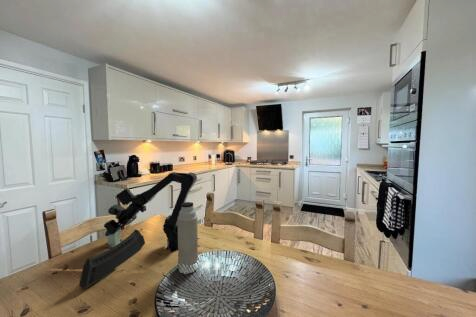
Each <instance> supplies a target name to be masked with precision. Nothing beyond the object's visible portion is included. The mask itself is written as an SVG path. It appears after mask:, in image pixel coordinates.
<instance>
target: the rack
mask: <svg viewBox="0 0 476 317" xmlns="http://www.w3.org/2000/svg"><path fill="white" fill-rule="evenodd" d="M123 240H124V239H123V238H120V242H121V241H123ZM114 246H115V245H108V241H107V242H105V243H104V244H103V245H101V249H111V248H112V247H114Z"/></svg>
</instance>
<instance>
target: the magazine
mask: <svg viewBox="0 0 476 317" xmlns="http://www.w3.org/2000/svg"><path fill="white" fill-rule="evenodd" d="M145 244H146V241H145V238H144V235H142V234H141V231H140V230H139V229H134V230H133V232H131V233H130V234H129V235H128V236H126V238H124V239H123V241H122V242H120V243H119V244H117V245H116V246H114V247H112V248H108V249H107V250H105V251H103V252H102V253H99V254H97V255H95V256H93V257H88V258H86V259H85V263H84V264H83V266H82V271H81V275H80V279H79V285H78V286H79V288H80V289H88V288H89V287H90V286H92V285H94V284H96V283H97V282H99V281H101V280H102V279H104V278H106V277H107V276H109V275H111V274H112V273H113V272H115V271H116V270H117V269H116V268H118V267H120V265H123V263H125V262H126V261H128V260H129V259H131V258H132V257H133V256H135V255H136V254H137V253H138V252H139V251H140V250H141V248H143V247H144V245H145Z"/></svg>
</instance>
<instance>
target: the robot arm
mask: <svg viewBox="0 0 476 317" xmlns="http://www.w3.org/2000/svg"><path fill="white" fill-rule="evenodd" d="M197 180H198V177H197V174H196V173H195V172H191V171H190V172H187V173H185V172H177V171H172V172H170V173H168V174H167V175H166V176H165V177H164V178H162V179H161V180H160V181H158V182H157V183H156V184H155V185H153V186H152V187H151V188H149V189H147V190H146V191H142V193H139V194H138V193H137V194H136V195H135V194H134V193H133V192H132V191H131V190H130V188H128V187H126V188H124V189H123V190H122V191H120V192H119V193H117V194H116V195H115V198H116V200H117V201H119V202H120V203H121V204H122V205H123V206H122V205H120V204H114V205H112V206H110V207H109V208H108V209H107V211H108V212H107V213H108V214H110V215H112V216H115V219H117V221H116V220H114V219H110V220H108V221H106V222H105V223H104V225H103V227H104V228H105V229H106V231H105V234H104V236H105V237H108V235H111V234H115V233H116V232H118V231H119V230H121V228H123V227H125V226H127V225H129V224H131V223H133V222H134V221H135V220H136V219H137V214H139V213H140V212H141V213H144V212H146V211H147V205H146V204H148V203H150V202H151V201H153V199H154V198H155V197H156V196H157V195H158V194H159V192H161V191H163V189H165V188H166V187H168V186H169V185H170V184H171V183H172V182H175V183H177V184H180V191H179V194H178V197H177V199H176V202H175V204H174V207H173V210H172V212H171V214H169V215H168V216H166V218H165V219H164V222H163V225H162V230H163V232H164V234H165V236H166V243H167V244H166V246H167V248H168V250H170V252H174V251H175V252H176V251H178V216H179V212H180V211H181V207H182V206H181V204H182V203H185V202H187V199H188V195H189V193H190V191H191V189H192V188H193V187H194V185H195V183H197ZM125 205H126V206H127V207H126V208H125V207H124V206H125Z"/></svg>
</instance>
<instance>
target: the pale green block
mask: <svg viewBox="0 0 476 317" xmlns="http://www.w3.org/2000/svg"><path fill="white" fill-rule="evenodd" d="M120 230H121V229H120ZM120 230H119V231H118V232H116V233H115V234H111V235H108V236H107V242H108V245H115V246H116V245H117V244H118V243H120V239H121V237H120V234H121V233H120Z"/></svg>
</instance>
